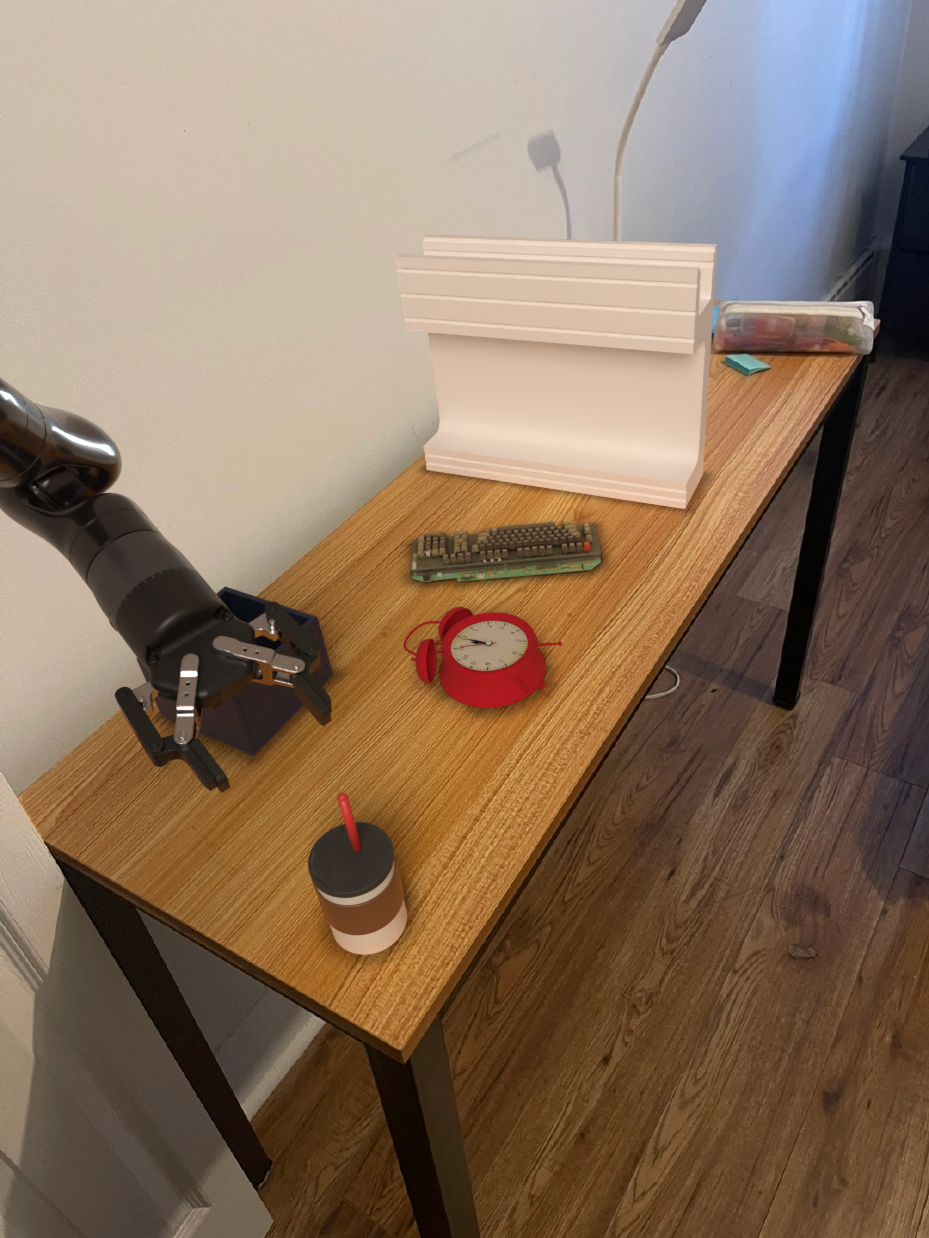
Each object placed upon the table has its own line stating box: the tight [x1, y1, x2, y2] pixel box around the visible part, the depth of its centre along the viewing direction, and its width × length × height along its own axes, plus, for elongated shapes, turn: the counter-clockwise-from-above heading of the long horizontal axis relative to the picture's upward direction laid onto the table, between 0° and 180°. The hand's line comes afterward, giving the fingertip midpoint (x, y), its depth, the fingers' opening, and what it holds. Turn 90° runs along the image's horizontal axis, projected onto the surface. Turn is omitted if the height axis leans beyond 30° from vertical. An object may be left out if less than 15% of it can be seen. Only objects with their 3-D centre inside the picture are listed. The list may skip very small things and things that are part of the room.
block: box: [394, 234, 718, 510], centre depth 109 cm, size 35×8×28 cm, turn 64°
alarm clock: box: [403, 606, 563, 709], centre depth 89 cm, size 10×6×15 cm
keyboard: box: [409, 520, 604, 584], centre depth 104 cm, size 22×9×2 cm, turn 90°
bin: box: [136, 586, 334, 757], centre depth 89 cm, size 12×12×8 cm
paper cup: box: [307, 791, 408, 956], centre depth 65 cm, size 6×6×14 cm
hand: (277, 751), depth 64 cm, fingers open, 8 cm apart
